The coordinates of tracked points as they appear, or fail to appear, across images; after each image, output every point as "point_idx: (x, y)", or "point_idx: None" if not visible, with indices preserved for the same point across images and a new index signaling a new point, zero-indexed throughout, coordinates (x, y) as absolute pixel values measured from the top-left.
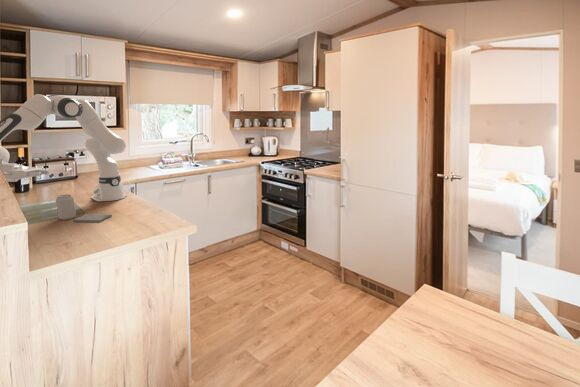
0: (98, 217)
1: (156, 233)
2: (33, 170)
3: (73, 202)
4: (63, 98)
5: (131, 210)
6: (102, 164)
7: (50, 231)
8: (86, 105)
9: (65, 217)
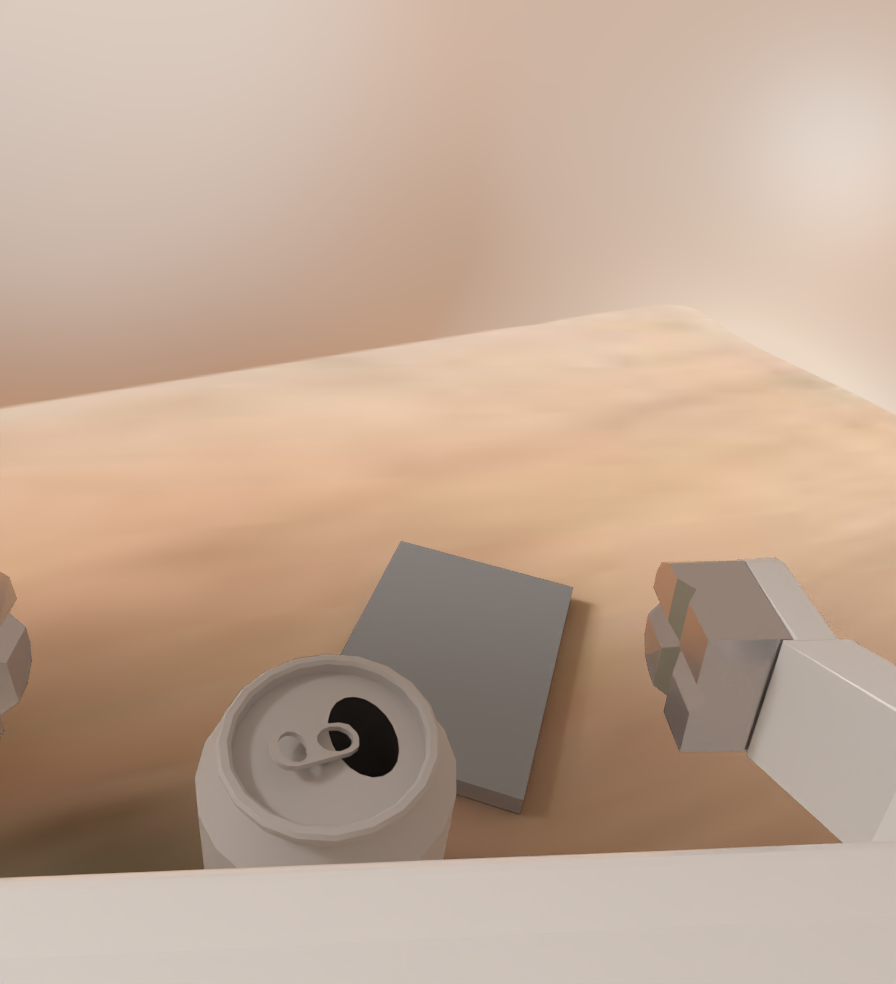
0: (476, 608)
1: (795, 379)
2: (338, 879)
3: (332, 715)
4: None
5: (237, 470)
6: None
7: None
8: None
9: None
